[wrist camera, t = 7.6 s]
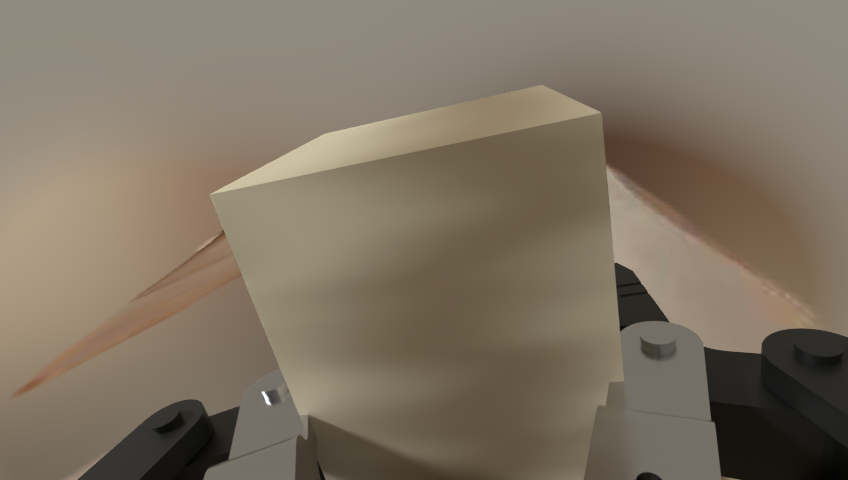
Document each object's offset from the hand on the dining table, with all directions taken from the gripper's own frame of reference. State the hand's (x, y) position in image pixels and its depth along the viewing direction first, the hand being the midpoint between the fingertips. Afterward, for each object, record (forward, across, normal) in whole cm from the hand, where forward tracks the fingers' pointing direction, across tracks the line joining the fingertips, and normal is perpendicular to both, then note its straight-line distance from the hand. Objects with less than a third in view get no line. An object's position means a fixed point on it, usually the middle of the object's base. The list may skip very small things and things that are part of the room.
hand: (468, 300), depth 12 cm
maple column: (-3, 0, +7) cm, 7 cm away
